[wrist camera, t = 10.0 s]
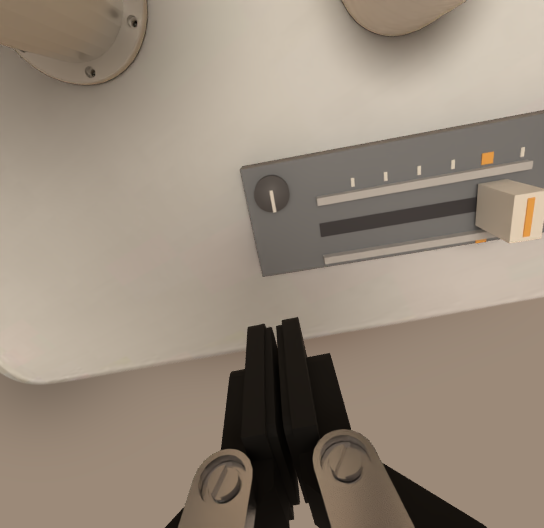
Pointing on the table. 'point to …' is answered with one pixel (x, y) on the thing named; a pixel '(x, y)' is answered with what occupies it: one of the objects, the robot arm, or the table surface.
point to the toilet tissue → (398, 14)
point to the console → (386, 193)
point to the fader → (510, 210)
